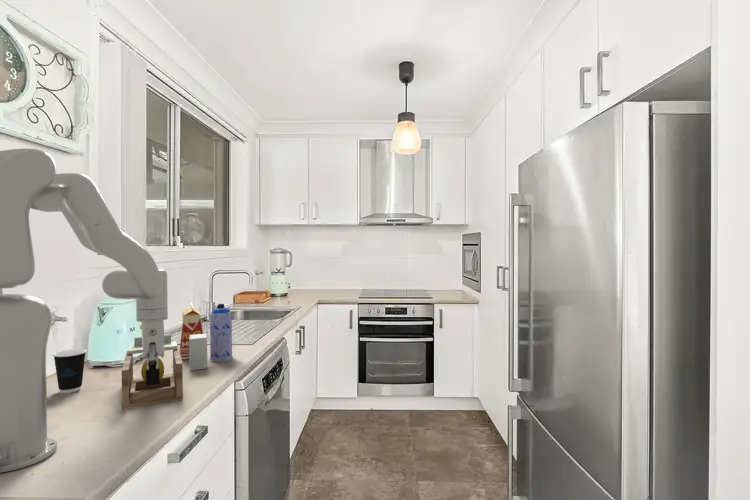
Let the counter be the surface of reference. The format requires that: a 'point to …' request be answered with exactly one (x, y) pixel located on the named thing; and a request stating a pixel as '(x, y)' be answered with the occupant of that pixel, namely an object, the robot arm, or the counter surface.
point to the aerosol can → (220, 334)
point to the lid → (139, 348)
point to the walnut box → (143, 394)
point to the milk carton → (189, 329)
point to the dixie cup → (69, 369)
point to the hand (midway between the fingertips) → (152, 380)
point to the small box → (198, 351)
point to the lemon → (160, 366)
